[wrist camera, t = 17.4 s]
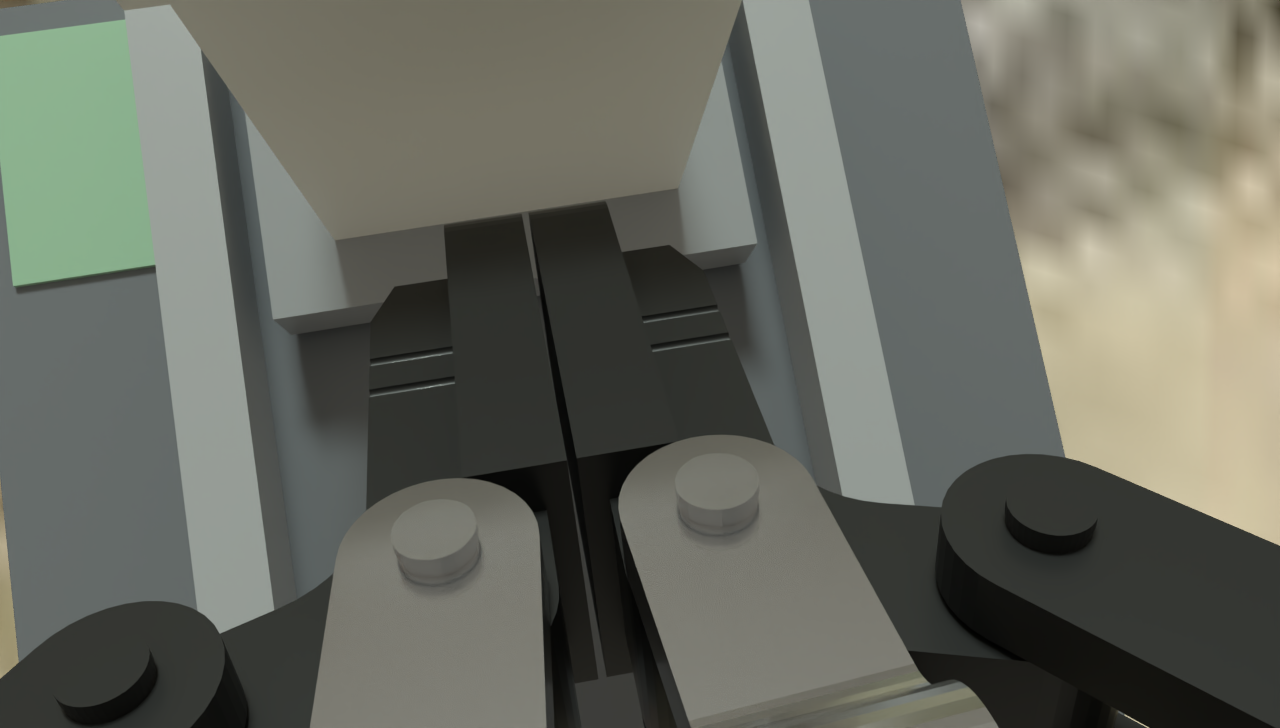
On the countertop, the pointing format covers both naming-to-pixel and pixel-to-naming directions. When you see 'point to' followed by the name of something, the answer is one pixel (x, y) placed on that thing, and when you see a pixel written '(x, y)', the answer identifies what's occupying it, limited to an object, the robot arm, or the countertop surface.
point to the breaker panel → (340, 357)
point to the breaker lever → (470, 131)
